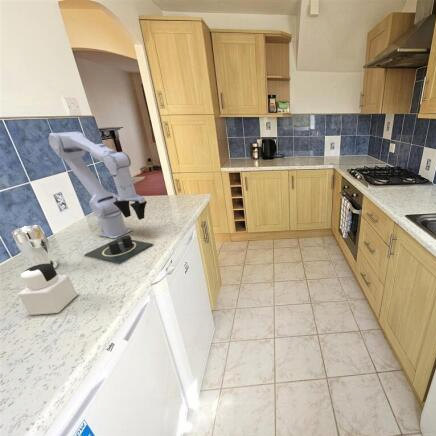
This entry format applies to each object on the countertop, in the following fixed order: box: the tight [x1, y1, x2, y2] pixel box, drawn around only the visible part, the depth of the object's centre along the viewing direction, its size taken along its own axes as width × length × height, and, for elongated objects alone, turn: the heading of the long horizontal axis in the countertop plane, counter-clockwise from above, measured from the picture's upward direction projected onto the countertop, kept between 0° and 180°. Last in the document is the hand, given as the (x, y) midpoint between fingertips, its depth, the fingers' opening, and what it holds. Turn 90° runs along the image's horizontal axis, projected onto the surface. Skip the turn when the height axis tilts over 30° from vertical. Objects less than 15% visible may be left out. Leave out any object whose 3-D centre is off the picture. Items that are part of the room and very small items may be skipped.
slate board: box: [84, 237, 154, 265], centre depth 93 cm, size 18×14×1 cm
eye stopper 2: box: [120, 234, 133, 248], centre depth 94 cm, size 3×3×4 cm
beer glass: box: [10, 224, 58, 269], centre depth 80 cm, size 7×7×15 cm
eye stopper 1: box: [107, 240, 121, 255], centre depth 89 cm, size 3×3×4 cm
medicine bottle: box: [17, 264, 78, 316], centre depth 64 cm, size 7×7×12 cm
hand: (134, 217), depth 98 cm, fingers open, 7 cm apart
